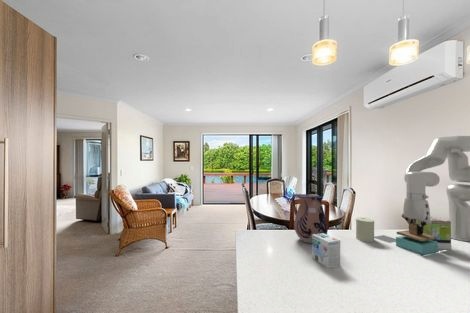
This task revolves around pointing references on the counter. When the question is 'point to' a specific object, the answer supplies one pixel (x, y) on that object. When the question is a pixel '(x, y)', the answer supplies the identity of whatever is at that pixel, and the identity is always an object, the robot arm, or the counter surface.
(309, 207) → the ceramic pitcher
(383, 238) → the mat
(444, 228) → the tea box
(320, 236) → the light bulb box
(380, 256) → the counter surface
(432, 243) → the dish
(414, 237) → the lid
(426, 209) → the robot arm
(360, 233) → the can
